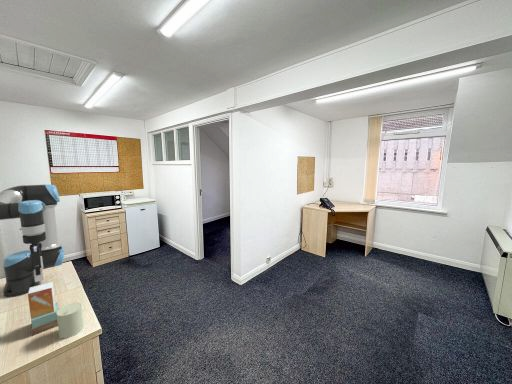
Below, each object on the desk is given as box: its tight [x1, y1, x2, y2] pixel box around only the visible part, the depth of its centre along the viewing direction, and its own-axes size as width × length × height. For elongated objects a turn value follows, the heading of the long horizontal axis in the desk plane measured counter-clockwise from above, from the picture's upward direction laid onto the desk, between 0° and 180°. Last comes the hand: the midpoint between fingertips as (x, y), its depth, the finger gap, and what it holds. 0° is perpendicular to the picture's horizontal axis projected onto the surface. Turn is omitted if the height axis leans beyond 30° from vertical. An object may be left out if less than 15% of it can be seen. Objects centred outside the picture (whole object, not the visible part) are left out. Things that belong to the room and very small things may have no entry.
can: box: [56, 302, 85, 339], centre depth 100 cm, size 9×9×12 cm
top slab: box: [30, 302, 59, 328], centre depth 103 cm, size 9×9×4 cm
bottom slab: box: [30, 307, 60, 337], centre depth 104 cm, size 10×10×4 cm
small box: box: [27, 281, 56, 320], centre depth 101 cm, size 8×6×13 cm
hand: (39, 274), depth 102 cm, fingers open, 13 cm apart
